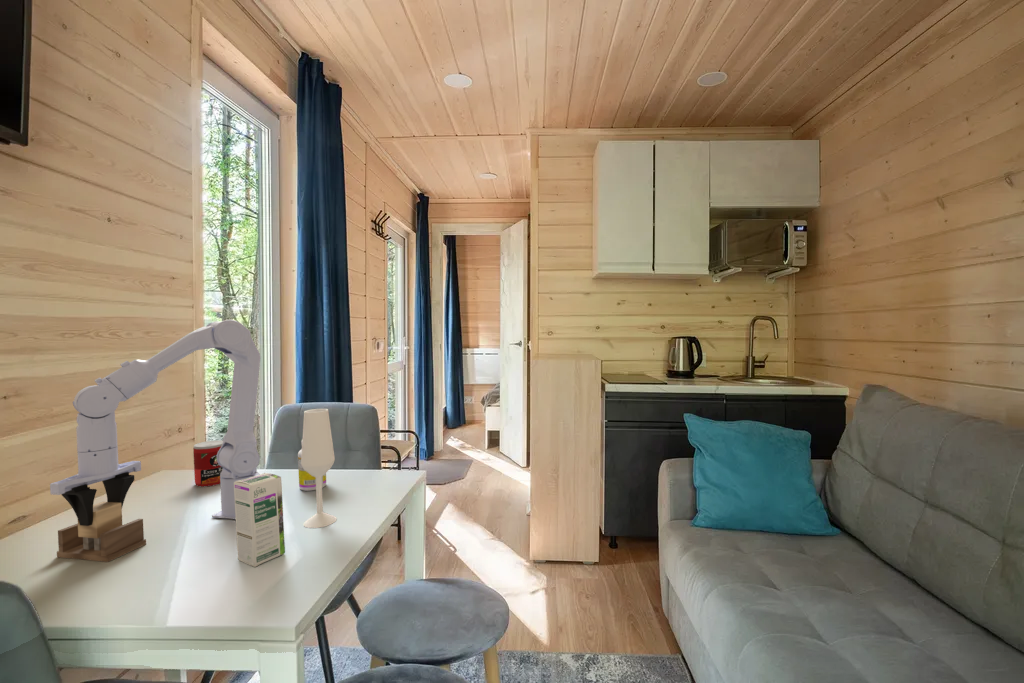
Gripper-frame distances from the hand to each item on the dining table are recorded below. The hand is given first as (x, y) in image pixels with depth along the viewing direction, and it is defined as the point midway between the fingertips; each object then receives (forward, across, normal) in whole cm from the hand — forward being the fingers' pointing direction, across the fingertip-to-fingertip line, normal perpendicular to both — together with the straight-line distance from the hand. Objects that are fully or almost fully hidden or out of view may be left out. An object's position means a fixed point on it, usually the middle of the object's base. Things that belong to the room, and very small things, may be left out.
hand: (101, 519), depth 88 cm
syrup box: (+6, -2, +33) cm, 34 cm away
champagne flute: (+6, -18, +34) cm, 39 cm away
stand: (+6, 0, 0) cm, 6 cm away
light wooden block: (+2, 0, 0) cm, 3 cm away
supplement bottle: (+6, -38, +18) cm, 43 cm away
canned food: (+6, -38, -14) cm, 41 cm away
